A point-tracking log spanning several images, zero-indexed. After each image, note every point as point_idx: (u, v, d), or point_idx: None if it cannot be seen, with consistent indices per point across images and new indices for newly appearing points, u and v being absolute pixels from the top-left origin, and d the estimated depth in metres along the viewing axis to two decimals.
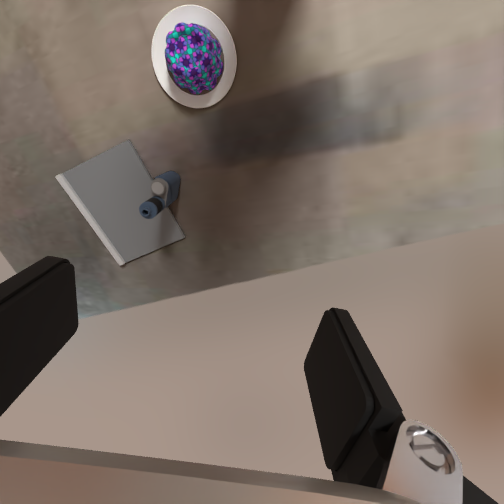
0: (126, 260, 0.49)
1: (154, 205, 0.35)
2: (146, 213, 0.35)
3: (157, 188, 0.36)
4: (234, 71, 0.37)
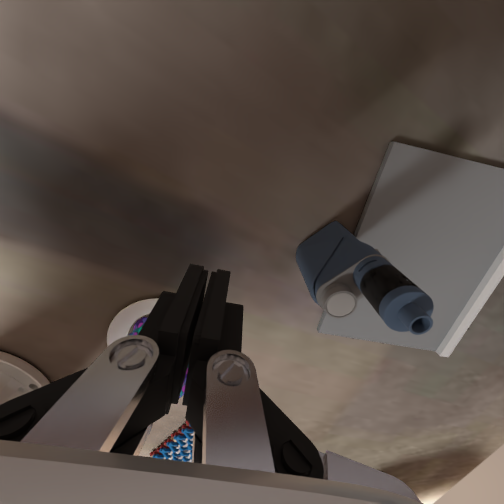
0: None
1: (381, 309, 0.12)
2: None
3: (341, 304, 0.15)
4: (122, 312, 0.25)
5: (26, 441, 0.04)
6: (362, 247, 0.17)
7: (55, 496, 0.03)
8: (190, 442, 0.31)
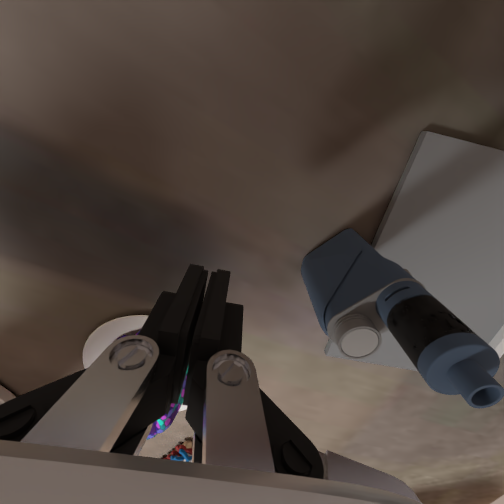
0: None
1: (423, 364, 0.09)
2: None
3: (360, 342, 0.12)
4: (98, 329, 0.21)
5: (26, 441, 0.04)
6: (387, 266, 0.13)
7: (55, 496, 0.03)
8: None
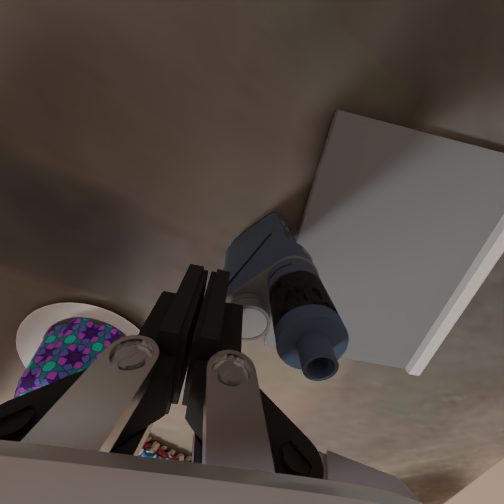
0: None
1: (275, 337, 0.08)
2: None
3: (249, 322, 0.12)
4: (29, 317, 0.21)
5: (26, 441, 0.04)
6: (284, 246, 0.13)
7: (55, 496, 0.03)
8: None
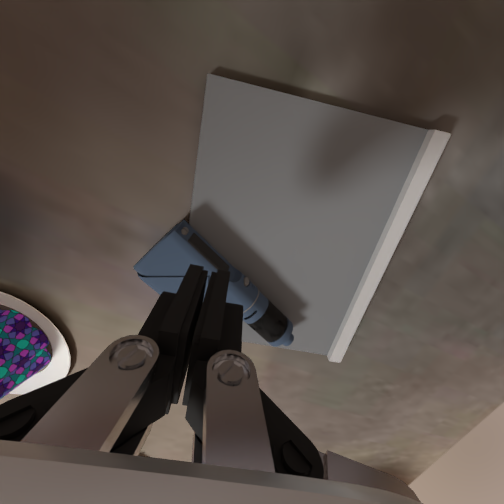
0: (419, 133, 0.15)
1: (269, 343, 0.19)
2: None
3: None
4: None
5: (26, 441, 0.04)
6: (237, 294, 0.17)
7: (55, 496, 0.03)
8: None
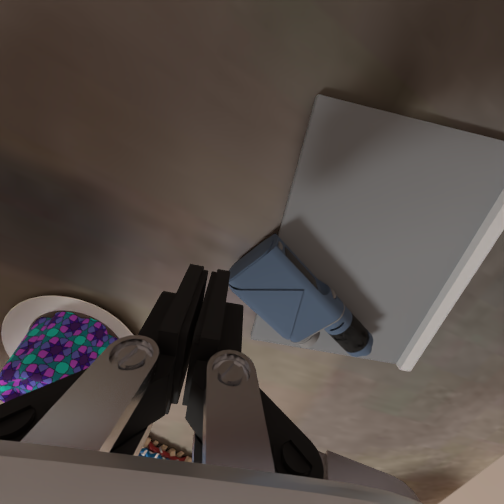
0: None
1: (349, 353, 0.20)
2: None
3: None
4: (13, 310, 0.21)
5: (26, 441, 0.04)
6: (328, 306, 0.17)
7: (55, 496, 0.03)
8: None
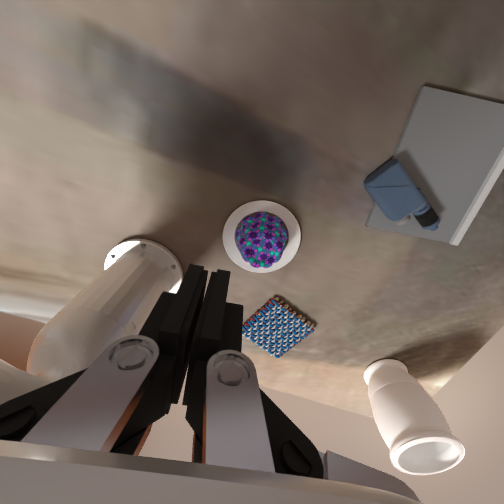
0: None
1: (426, 228, 0.36)
2: None
3: None
4: (236, 210, 0.38)
5: (26, 441, 0.04)
6: (420, 196, 0.34)
7: (55, 496, 0.03)
8: (271, 315, 0.45)
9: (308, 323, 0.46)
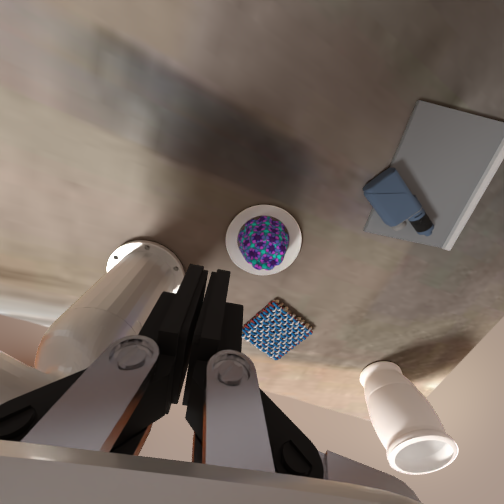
0: None
1: (421, 233, 0.38)
2: None
3: None
4: (241, 213, 0.39)
5: (26, 441, 0.04)
6: (416, 203, 0.36)
7: (55, 496, 0.03)
8: (271, 317, 0.46)
9: (307, 325, 0.47)
